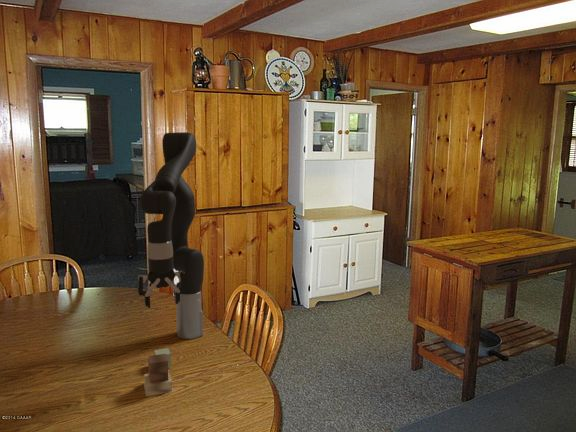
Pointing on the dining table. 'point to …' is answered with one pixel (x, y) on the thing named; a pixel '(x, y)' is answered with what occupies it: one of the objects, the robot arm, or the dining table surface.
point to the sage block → (164, 351)
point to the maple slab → (157, 385)
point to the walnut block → (158, 368)
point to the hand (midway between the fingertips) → (162, 305)
